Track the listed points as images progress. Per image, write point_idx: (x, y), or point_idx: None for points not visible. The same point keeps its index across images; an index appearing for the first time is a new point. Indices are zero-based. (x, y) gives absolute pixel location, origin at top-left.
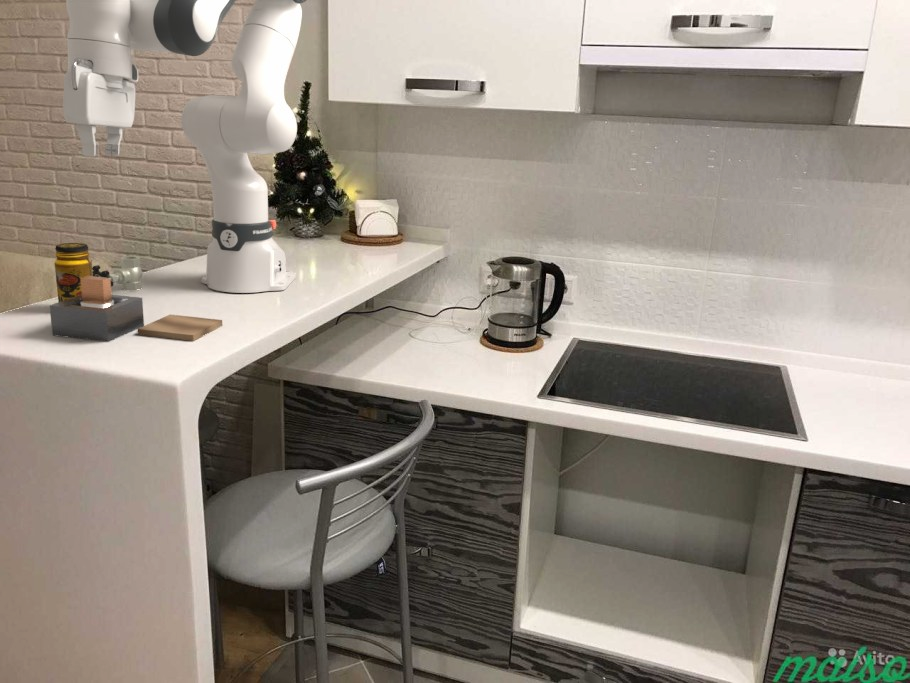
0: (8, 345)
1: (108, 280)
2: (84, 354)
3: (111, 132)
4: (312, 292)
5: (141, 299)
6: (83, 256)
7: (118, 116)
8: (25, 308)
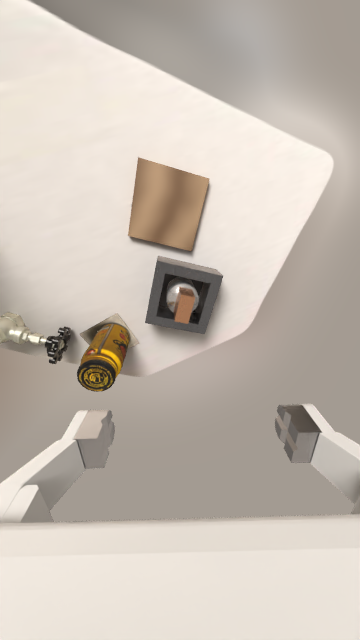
0: (229, 338)
1: (184, 294)
2: (253, 274)
3: (47, 514)
4: None
5: (158, 260)
6: (105, 356)
7: (81, 622)
8: (123, 374)
